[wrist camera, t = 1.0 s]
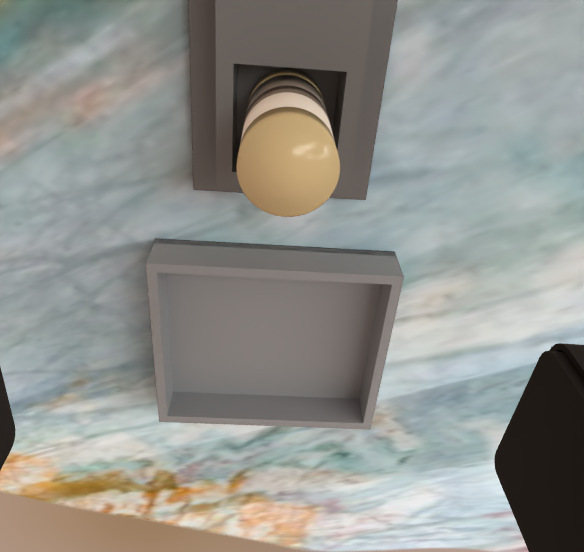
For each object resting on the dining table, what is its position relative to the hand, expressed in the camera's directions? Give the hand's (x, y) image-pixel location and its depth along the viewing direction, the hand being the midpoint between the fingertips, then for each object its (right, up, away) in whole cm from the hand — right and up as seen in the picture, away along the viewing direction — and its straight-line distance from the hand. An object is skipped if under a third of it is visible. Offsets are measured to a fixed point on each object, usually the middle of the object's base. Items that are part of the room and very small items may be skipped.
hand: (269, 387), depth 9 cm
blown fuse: (0, +11, +19) cm, 22 cm away
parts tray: (-1, -2, +28) cm, 28 cm away
